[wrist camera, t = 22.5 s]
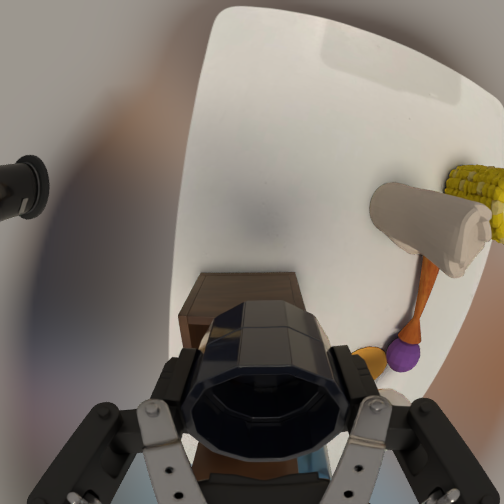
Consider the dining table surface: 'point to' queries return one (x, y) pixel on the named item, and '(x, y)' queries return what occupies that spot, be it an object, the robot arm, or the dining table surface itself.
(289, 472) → the lid
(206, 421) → the bowl
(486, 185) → the food
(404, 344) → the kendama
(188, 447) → the dining table surface
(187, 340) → the chest
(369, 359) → the cup
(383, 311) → the dining table surface
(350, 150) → the dining table surface
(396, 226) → the candle
